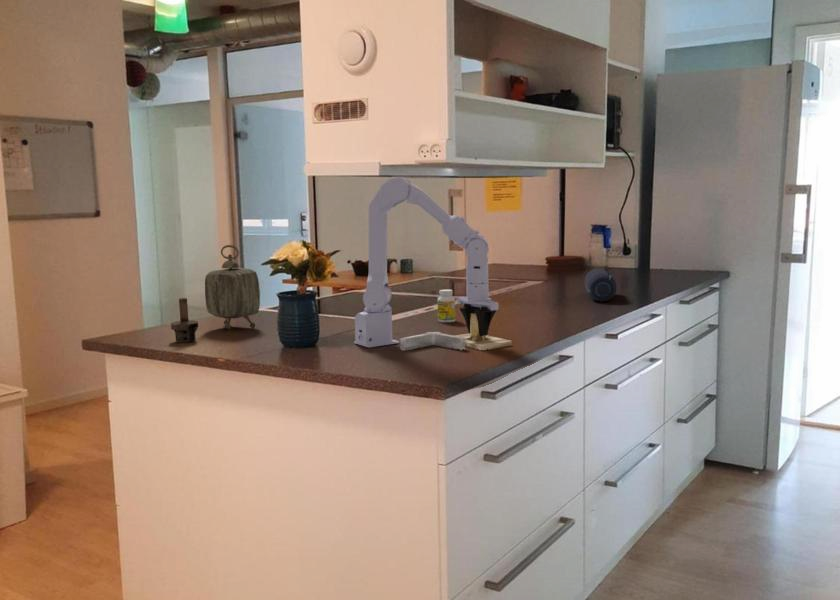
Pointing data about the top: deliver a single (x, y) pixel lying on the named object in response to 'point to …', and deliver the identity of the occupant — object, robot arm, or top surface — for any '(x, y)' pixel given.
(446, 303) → the supplement bottle
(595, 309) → the top surface
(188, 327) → the industrial component
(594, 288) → the portable speaker
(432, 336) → the grey angled bracket
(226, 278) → the tabletop clock
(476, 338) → the brass axle
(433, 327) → the top surface
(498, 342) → the beige plate with hole
